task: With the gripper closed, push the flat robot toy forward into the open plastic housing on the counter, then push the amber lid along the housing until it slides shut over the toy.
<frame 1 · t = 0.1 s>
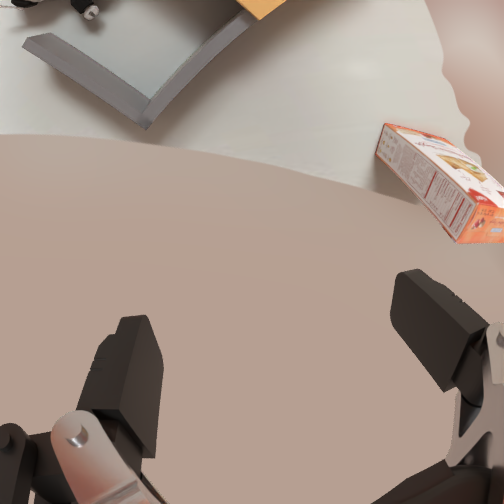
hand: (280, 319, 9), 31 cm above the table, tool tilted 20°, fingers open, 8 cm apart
cracker box: (411, 143, 40), on the table
housing: (141, 11, 22), on the table
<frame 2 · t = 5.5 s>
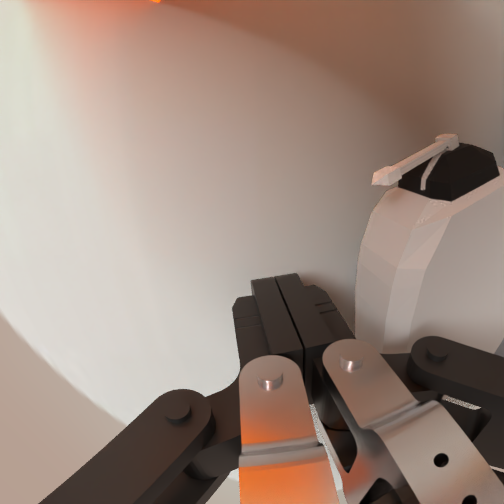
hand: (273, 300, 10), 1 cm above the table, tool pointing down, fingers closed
robot toy: (461, 240, 12), on the table, touching gripper
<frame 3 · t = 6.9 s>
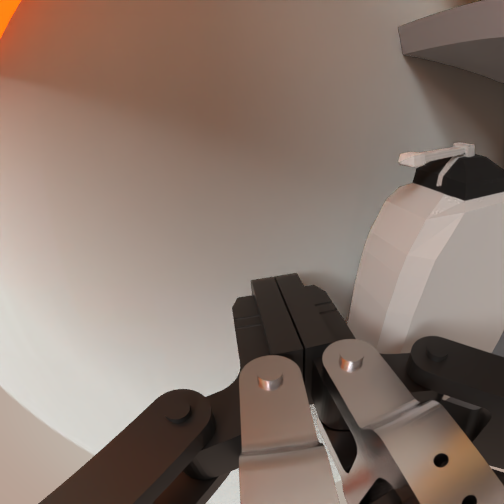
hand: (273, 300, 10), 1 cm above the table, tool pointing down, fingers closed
robot toy: (456, 258, 12), on the table, touching gripper
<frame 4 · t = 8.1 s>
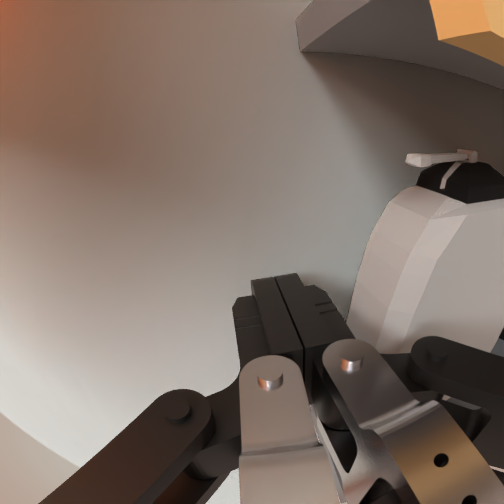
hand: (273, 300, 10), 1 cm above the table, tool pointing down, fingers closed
robot toy: (454, 265, 13), on the table
housing: (469, 244, 12), on the table
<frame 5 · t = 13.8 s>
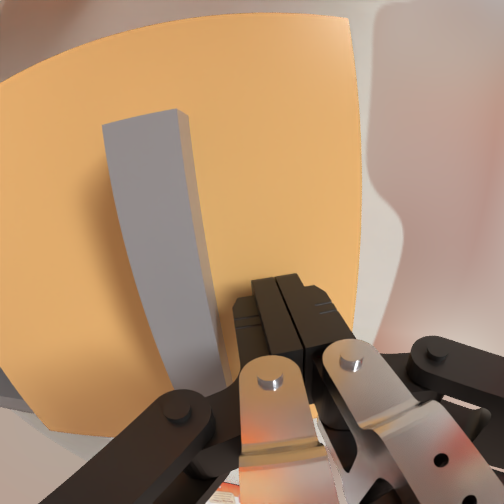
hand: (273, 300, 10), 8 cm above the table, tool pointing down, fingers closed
cracker box: (229, 488, 33), on the table
lid: (108, 321, 9), point 8 cm above the table, slide at 15.9 cm, touching gripper
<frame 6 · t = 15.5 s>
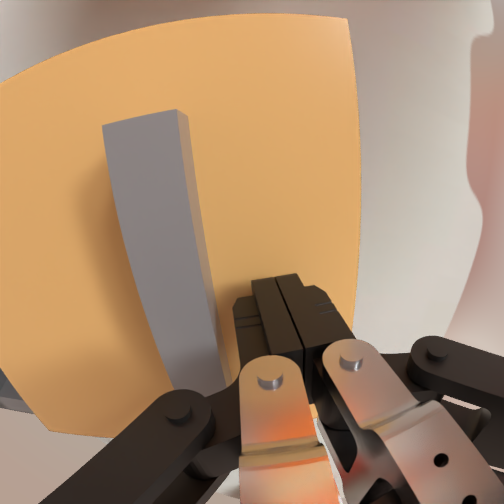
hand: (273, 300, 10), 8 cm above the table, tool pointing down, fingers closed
lid: (108, 322, 9), point 8 cm above the table, slide at 6.3 cm, touching gripper
housing: (57, 241, 16), on the table
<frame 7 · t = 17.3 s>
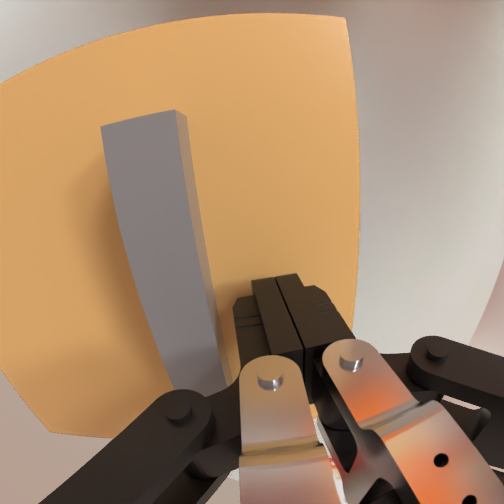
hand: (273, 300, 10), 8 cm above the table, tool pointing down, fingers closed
cracker box: (336, 467, 34), on the table
lid: (108, 322, 9), point 8 cm above the table, slide at 0.0 cm, touching gripper
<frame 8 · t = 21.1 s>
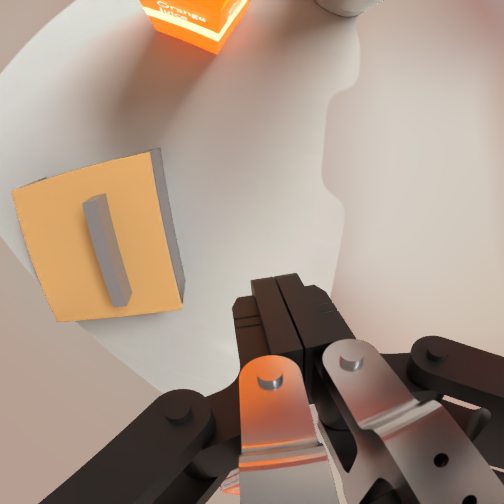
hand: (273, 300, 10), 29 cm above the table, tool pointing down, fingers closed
cracker box: (248, 402, 54), on the table
lid: (86, 254, 29), point 8 cm above the table, slide at 0.0 cm
housing: (107, 224, 37), on the table
orange juice: (201, 19, 28), on the table
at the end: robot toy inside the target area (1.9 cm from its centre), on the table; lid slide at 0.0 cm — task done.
